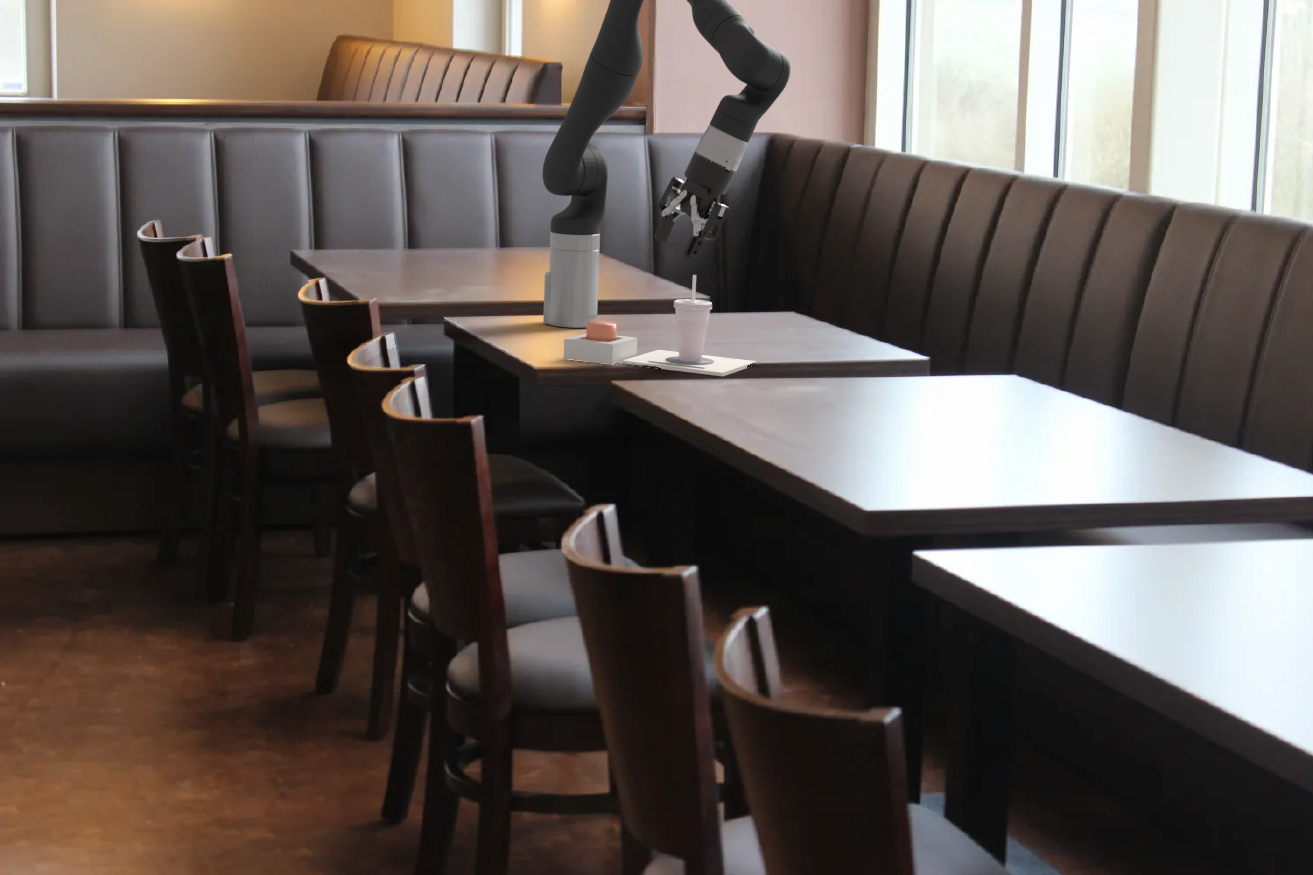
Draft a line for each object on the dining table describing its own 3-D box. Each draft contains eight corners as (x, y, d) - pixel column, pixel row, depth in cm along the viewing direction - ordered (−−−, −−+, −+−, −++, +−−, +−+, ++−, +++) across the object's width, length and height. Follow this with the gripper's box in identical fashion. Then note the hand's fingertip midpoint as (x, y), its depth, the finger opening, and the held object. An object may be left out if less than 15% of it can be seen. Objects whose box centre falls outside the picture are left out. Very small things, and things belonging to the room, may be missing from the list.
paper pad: (621, 364, 279) (622, 359, 279) (658, 353, 292) (658, 349, 292) (722, 376, 272) (722, 372, 272) (756, 364, 284) (756, 360, 284)
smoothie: (710, 358, 285) (715, 274, 282) (708, 364, 279) (712, 278, 276) (672, 355, 285) (676, 272, 282) (669, 361, 279) (673, 276, 276)
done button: (580, 344, 281) (581, 323, 281) (594, 340, 286) (595, 320, 285) (607, 347, 279) (608, 326, 279) (621, 344, 284) (622, 323, 283)
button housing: (563, 359, 281) (564, 338, 280) (589, 352, 289) (589, 332, 288) (612, 365, 277) (613, 344, 277) (636, 358, 285) (637, 337, 284)
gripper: (675, 138, 281) (633, 228, 284) (725, 166, 271) (681, 258, 274) (707, 152, 286) (666, 240, 289) (757, 180, 276) (713, 270, 279)
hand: (673, 249), depth 282 cm, fingers open, 8 cm apart
